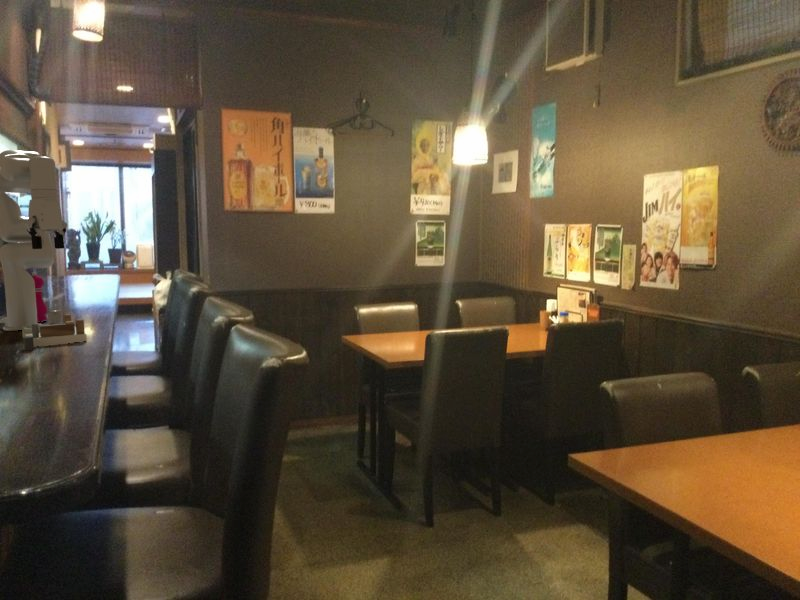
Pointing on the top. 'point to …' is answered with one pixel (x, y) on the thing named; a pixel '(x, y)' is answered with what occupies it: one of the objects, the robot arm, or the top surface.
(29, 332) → the seat board
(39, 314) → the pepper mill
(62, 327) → the hinged leg
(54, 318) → the leg peg
